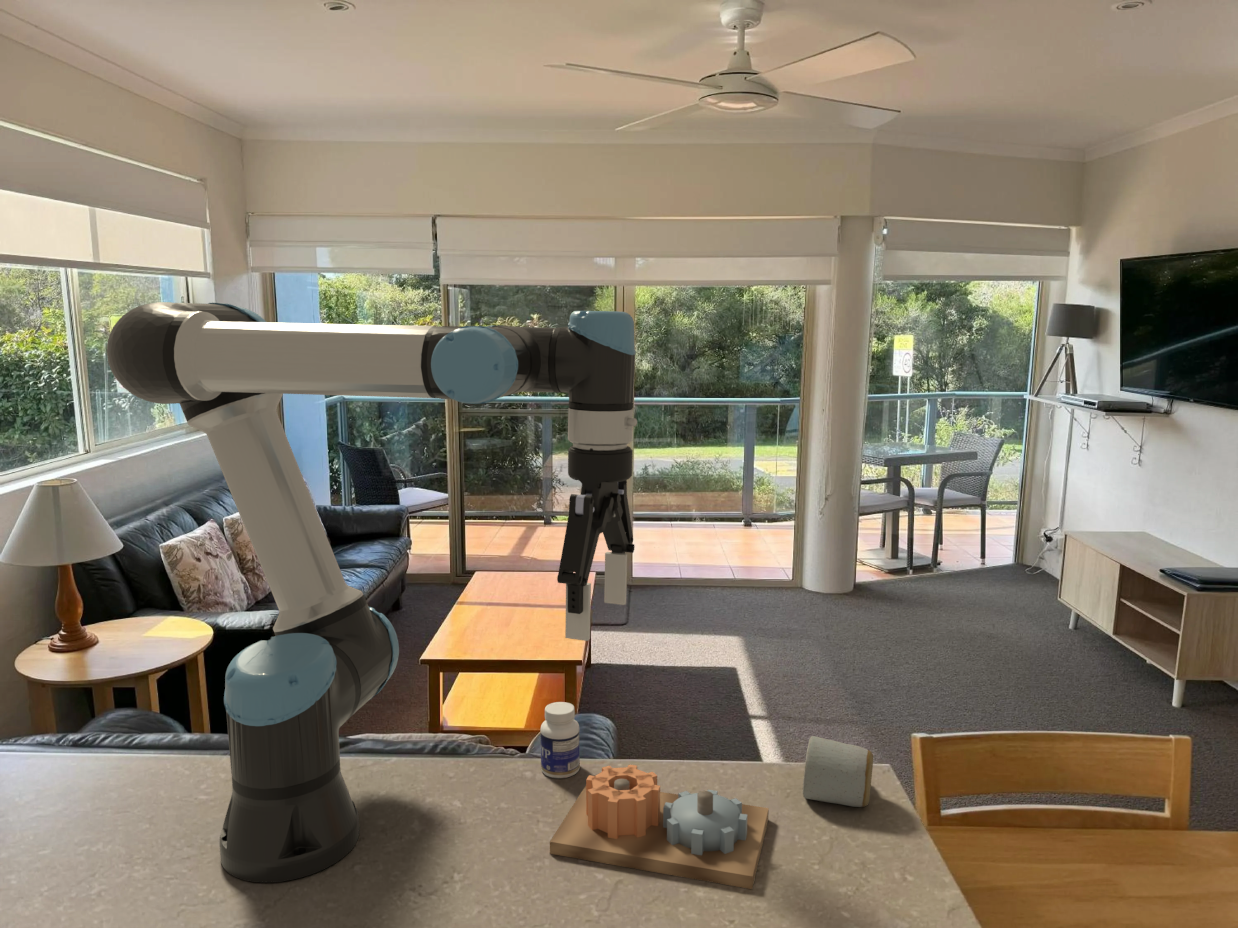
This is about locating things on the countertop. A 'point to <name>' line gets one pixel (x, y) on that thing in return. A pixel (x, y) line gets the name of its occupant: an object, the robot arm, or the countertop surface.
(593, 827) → the terracotta gear
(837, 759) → the ceramic mug
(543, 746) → the pill bottle
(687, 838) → the slate gear
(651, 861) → the walnut board
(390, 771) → the countertop surface
